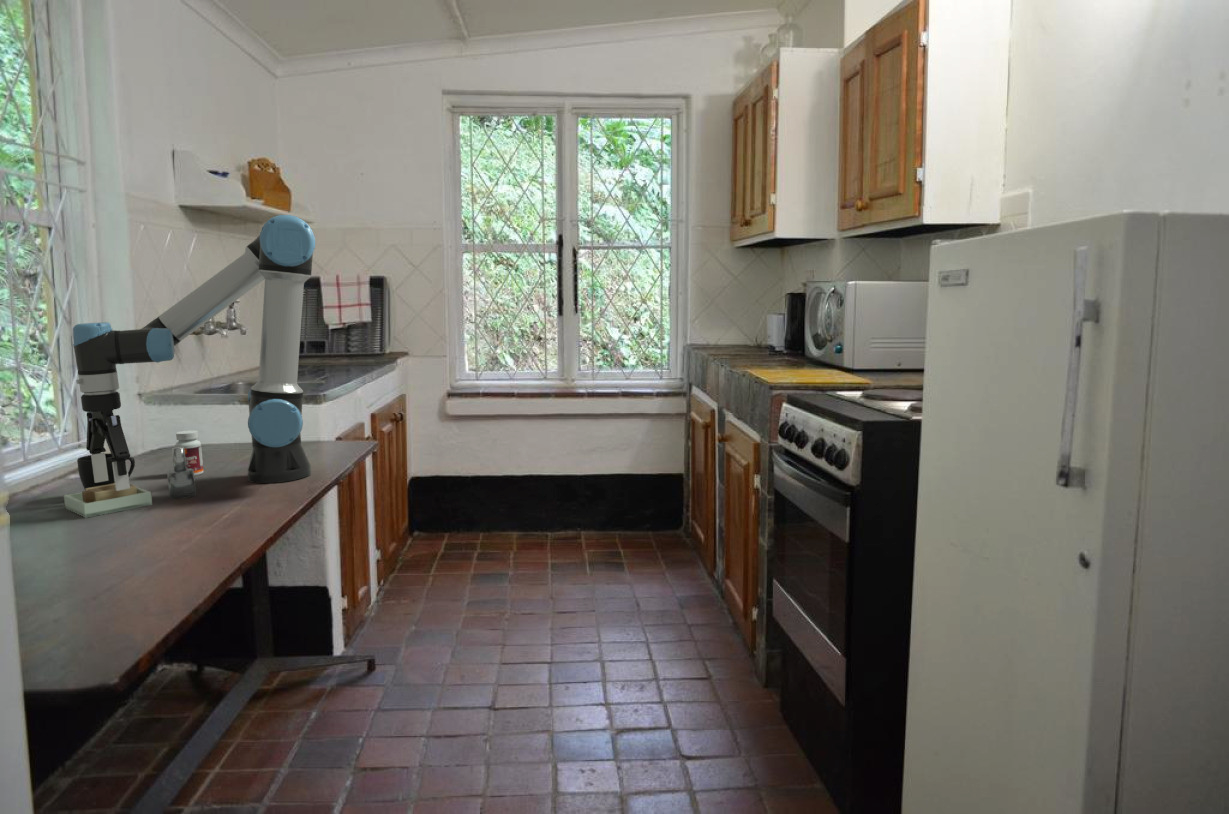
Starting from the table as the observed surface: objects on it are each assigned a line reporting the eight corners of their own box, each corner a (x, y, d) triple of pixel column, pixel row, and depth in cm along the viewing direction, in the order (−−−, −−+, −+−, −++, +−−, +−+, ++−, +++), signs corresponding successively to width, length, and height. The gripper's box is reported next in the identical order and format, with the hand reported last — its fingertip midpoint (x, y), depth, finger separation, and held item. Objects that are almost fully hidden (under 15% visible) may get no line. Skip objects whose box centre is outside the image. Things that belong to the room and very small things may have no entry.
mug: (130, 497, 208) (126, 458, 206) (75, 501, 206) (70, 461, 205) (143, 489, 216) (139, 451, 214) (90, 493, 214) (85, 454, 213)
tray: (130, 496, 209) (128, 483, 209) (152, 504, 200) (150, 492, 200) (65, 508, 199) (63, 495, 199) (85, 518, 190) (84, 504, 190)
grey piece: (200, 492, 211) (195, 445, 209) (189, 498, 205) (184, 449, 204) (176, 493, 211) (171, 445, 209) (165, 499, 205) (160, 450, 204)
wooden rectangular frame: (125, 496, 206) (123, 481, 205) (138, 501, 200) (136, 486, 200) (79, 504, 199) (77, 489, 198) (91, 510, 193) (89, 494, 193)
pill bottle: (177, 478, 228) (172, 434, 226) (178, 473, 234) (174, 431, 232) (203, 475, 230) (199, 432, 229) (204, 470, 236) (200, 429, 234)
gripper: (63, 391, 202) (75, 481, 205) (100, 398, 185) (113, 496, 189) (99, 387, 208) (110, 475, 211) (139, 393, 191) (150, 489, 194)
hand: (112, 485), depth 200 cm, fingers open, 13 cm apart
